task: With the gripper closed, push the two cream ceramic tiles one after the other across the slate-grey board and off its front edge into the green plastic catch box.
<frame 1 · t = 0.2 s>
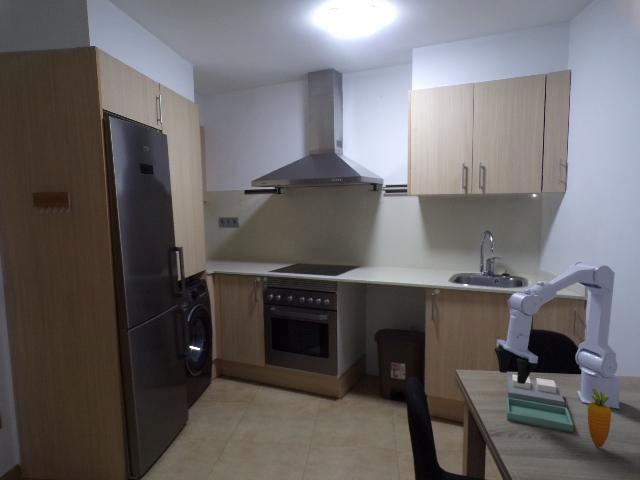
hand: (511, 377, 111), 11 cm above the table, tool pointing down, fingers open, 7 cm apart
catch box: (537, 417, 108), on the table
tile a: (545, 388, 119), point 3 cm above the table, touching board
carrot: (597, 448, 94), on the table
tile b: (521, 384, 122), point 3 cm above the table, touching board
board: (533, 398, 120), on the table
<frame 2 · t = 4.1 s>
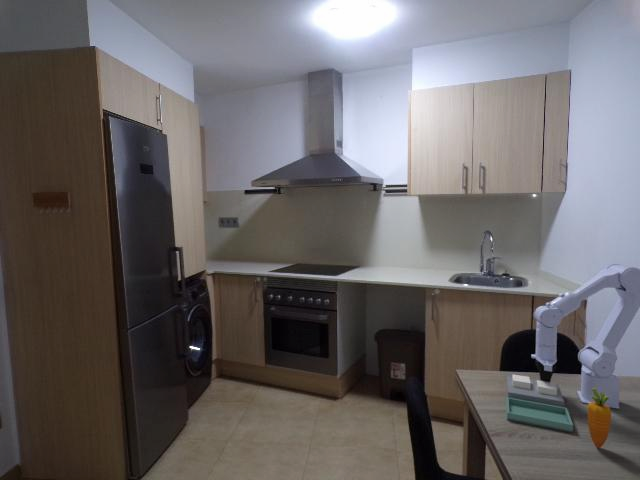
hand: (545, 384, 120), 4 cm above the table, tool pointing down, fingers closed
tile a: (546, 390, 117), point 3 cm above the table, touching board, gripper
everything else where it was.
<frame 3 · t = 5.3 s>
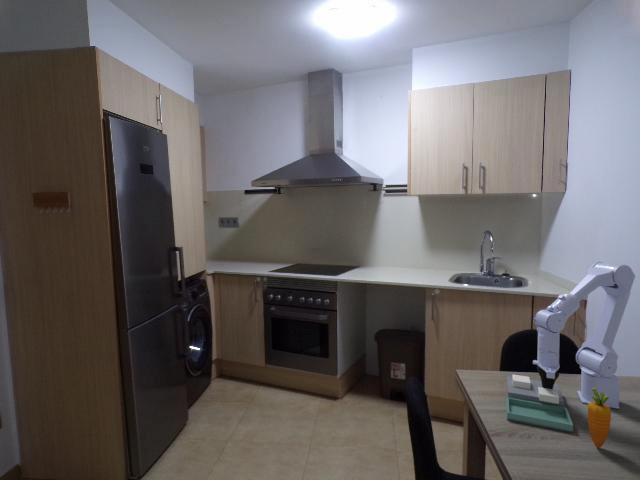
hand: (547, 391, 116), 4 cm above the table, tool pointing down, fingers closed
tile a: (548, 398, 112), point 4 cm above the table, touching board, gripper
everything else where it was.
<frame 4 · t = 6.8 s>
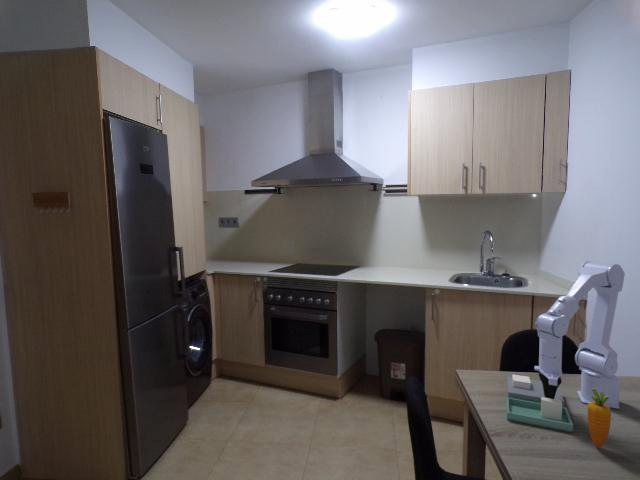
hand: (549, 398, 111), 4 cm above the table, tool pointing down, fingers closed
tile a: (550, 406, 108), point 3 cm above the table, tilted 90°, touching catch box
everything else where it was.
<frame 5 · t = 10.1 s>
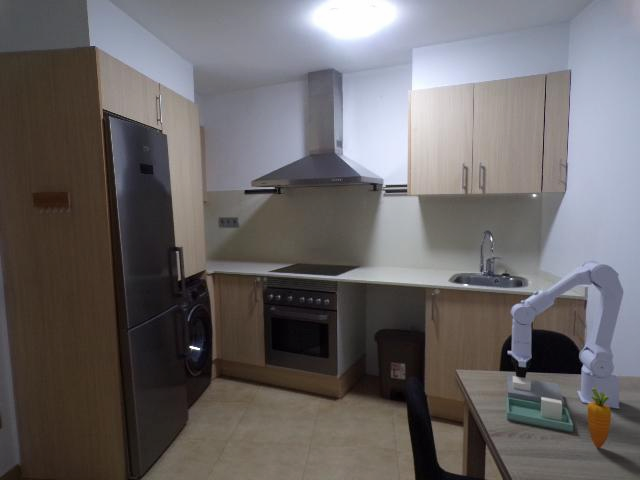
hand: (520, 380, 124), 4 cm above the table, tool pointing down, fingers closed
tile b: (521, 386, 121), point 3 cm above the table, touching board
everything else where it was.
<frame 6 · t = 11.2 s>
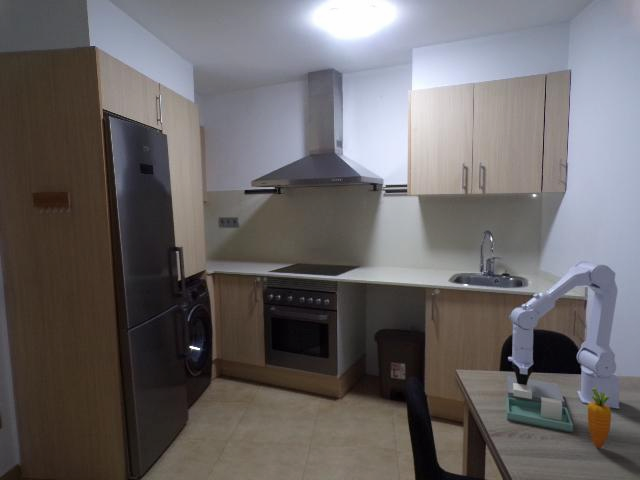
hand: (521, 387, 119), 4 cm above the table, tool pointing down, fingers closed
tile b: (522, 393, 115), point 3 cm above the table, touching board, gripper
everything else where it was.
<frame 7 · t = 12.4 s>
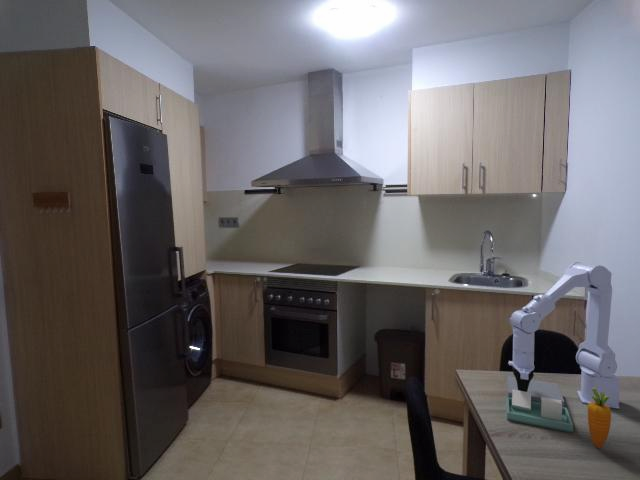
hand: (522, 392, 115), 4 cm above the table, tool pointing down, fingers closed
tile b: (521, 401, 113), point 2 cm above the table, tilted 39°, touching catch box, gripper
everything else where it was.
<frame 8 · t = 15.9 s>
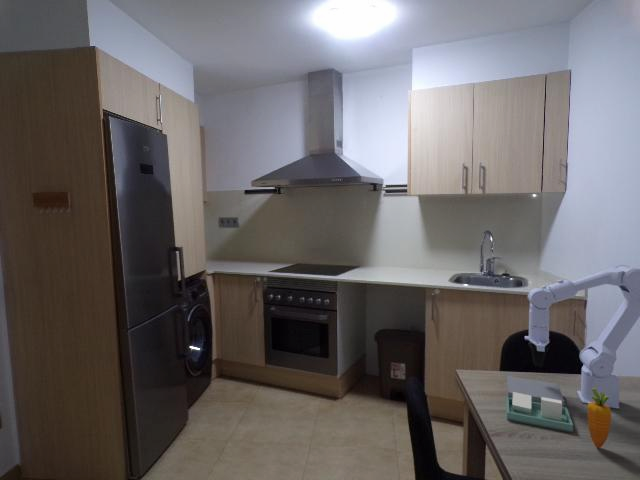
hand: (537, 365, 122), 9 cm above the table, tool pointing down, fingers closed
tile b: (521, 404, 113), point 2 cm above the table, tilted 24°, touching catch box
everything else where it was.
at the end: tile a inside the target area on the catch box (4.1 cm from its centre), point 3.0 cm above the catch box's base; tile b inside the target area on the catch box (4.9 cm from its centre), point 1.6 cm above the catch box's base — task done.
